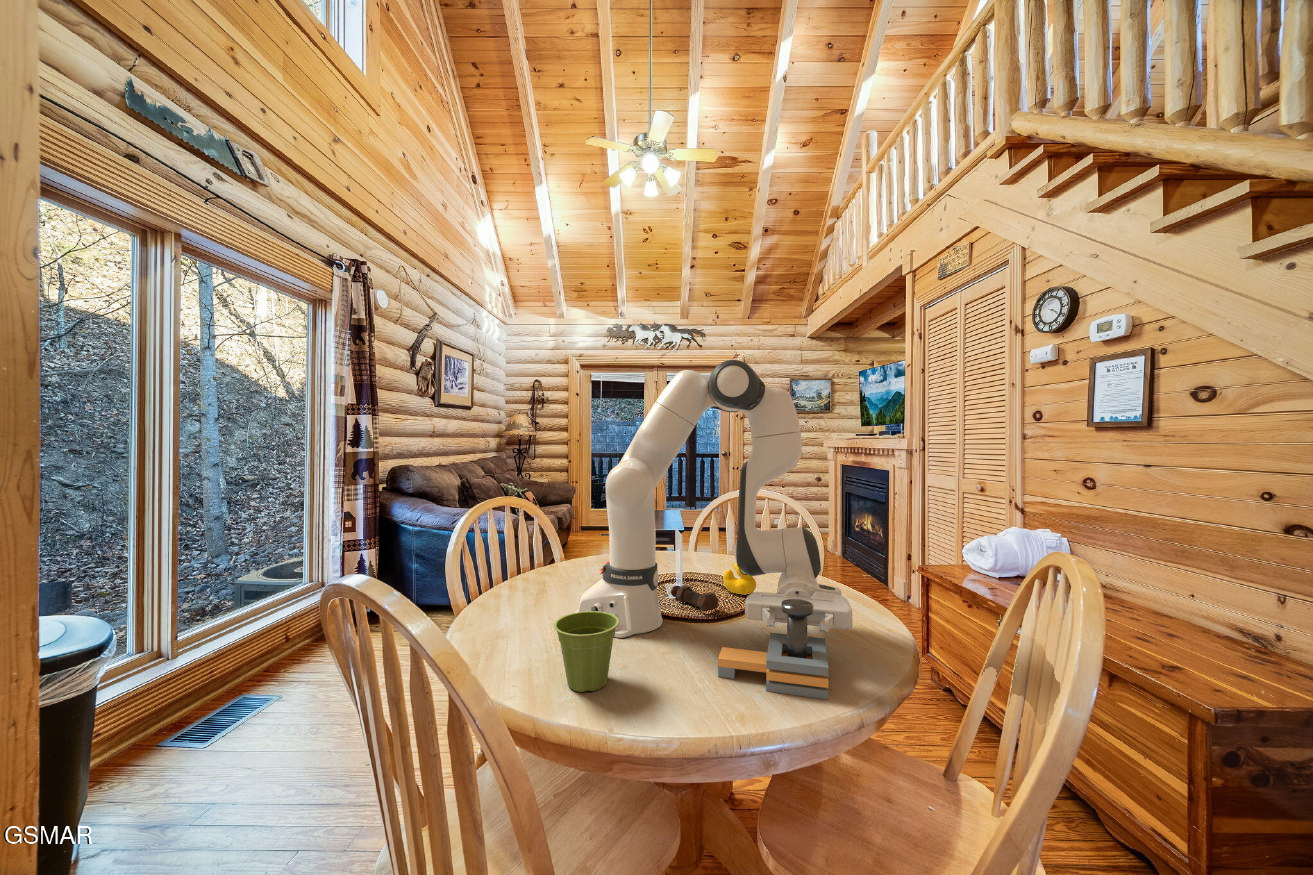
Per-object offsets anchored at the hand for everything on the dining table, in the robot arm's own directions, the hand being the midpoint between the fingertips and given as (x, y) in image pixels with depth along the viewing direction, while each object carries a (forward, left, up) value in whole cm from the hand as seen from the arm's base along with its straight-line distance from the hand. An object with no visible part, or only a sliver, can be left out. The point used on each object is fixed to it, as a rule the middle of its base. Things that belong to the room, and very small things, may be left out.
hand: (796, 624), depth 92 cm
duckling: (-15, +45, -10) cm, 49 cm away
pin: (0, 0, -10) cm, 10 cm away
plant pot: (-37, -11, -10) cm, 40 cm away
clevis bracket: (-5, +1, -10) cm, 11 cm away
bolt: (-27, +33, -11) cm, 44 cm away
